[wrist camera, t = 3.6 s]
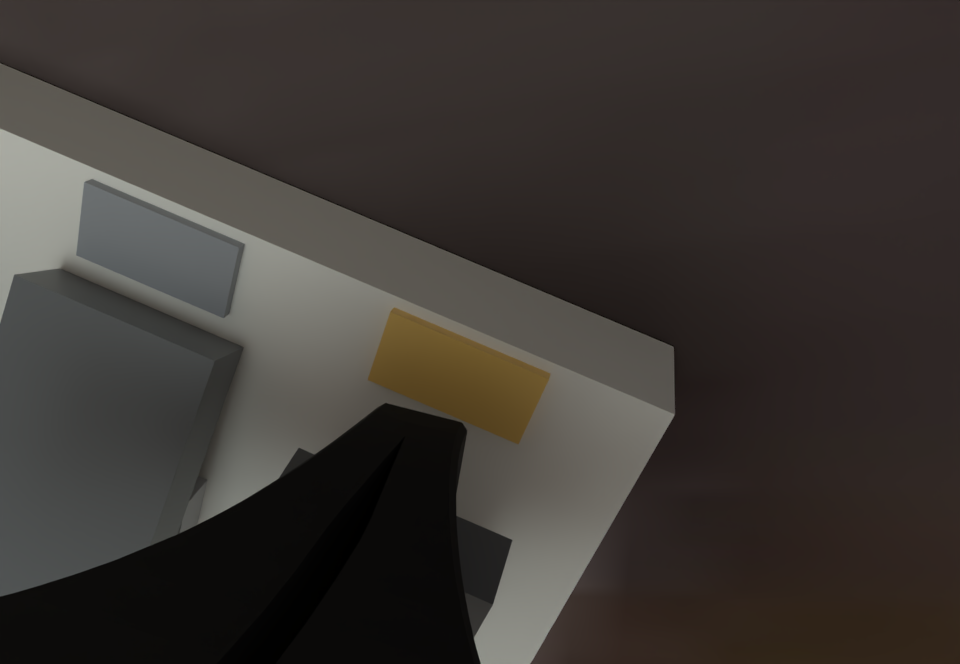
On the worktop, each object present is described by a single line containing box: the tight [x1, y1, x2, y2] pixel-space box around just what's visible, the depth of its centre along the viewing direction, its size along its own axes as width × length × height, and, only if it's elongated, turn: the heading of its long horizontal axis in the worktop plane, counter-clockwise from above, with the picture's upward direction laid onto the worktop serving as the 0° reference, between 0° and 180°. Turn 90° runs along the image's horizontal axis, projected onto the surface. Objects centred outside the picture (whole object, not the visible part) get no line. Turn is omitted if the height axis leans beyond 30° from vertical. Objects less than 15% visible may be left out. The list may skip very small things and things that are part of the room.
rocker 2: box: [278, 448, 512, 637], centre depth 14 cm, size 4×8×1 cm, turn 160°
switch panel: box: [0, 63, 675, 664], centre depth 17 cm, size 18×12×3 cm, turn 70°
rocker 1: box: [0, 268, 244, 596], centre depth 14 cm, size 4×8×1 cm, turn 160°
